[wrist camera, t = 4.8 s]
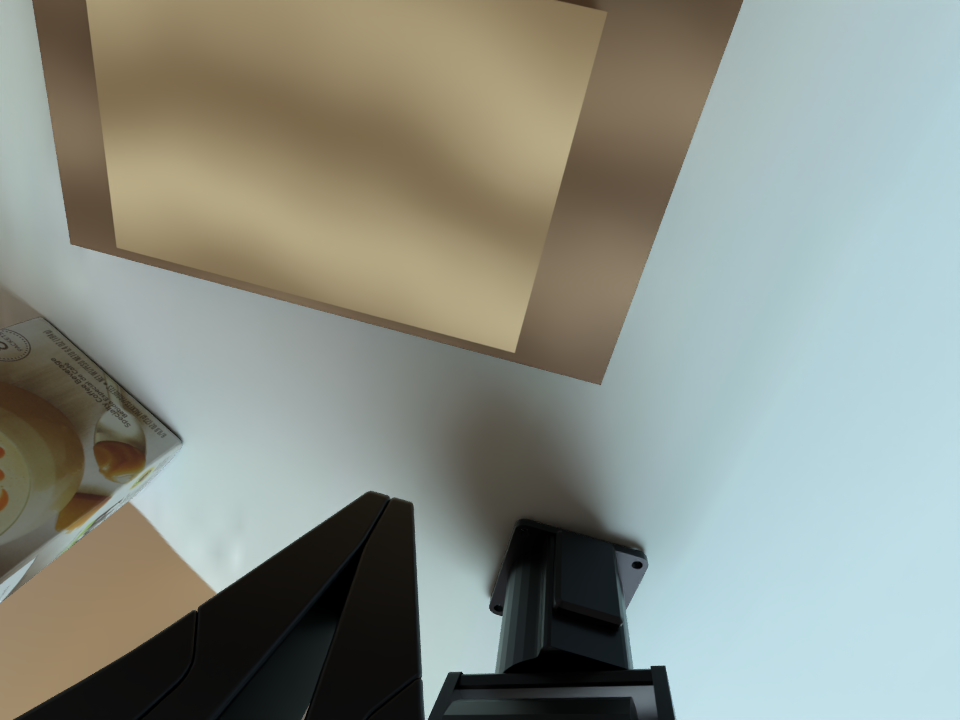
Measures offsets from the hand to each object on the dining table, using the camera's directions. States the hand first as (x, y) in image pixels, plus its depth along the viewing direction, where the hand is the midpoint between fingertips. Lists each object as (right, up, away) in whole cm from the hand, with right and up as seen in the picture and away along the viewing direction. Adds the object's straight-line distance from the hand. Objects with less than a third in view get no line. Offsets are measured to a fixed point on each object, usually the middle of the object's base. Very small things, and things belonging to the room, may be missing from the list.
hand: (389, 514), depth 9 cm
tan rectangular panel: (-3, +10, +8) cm, 13 cm away
